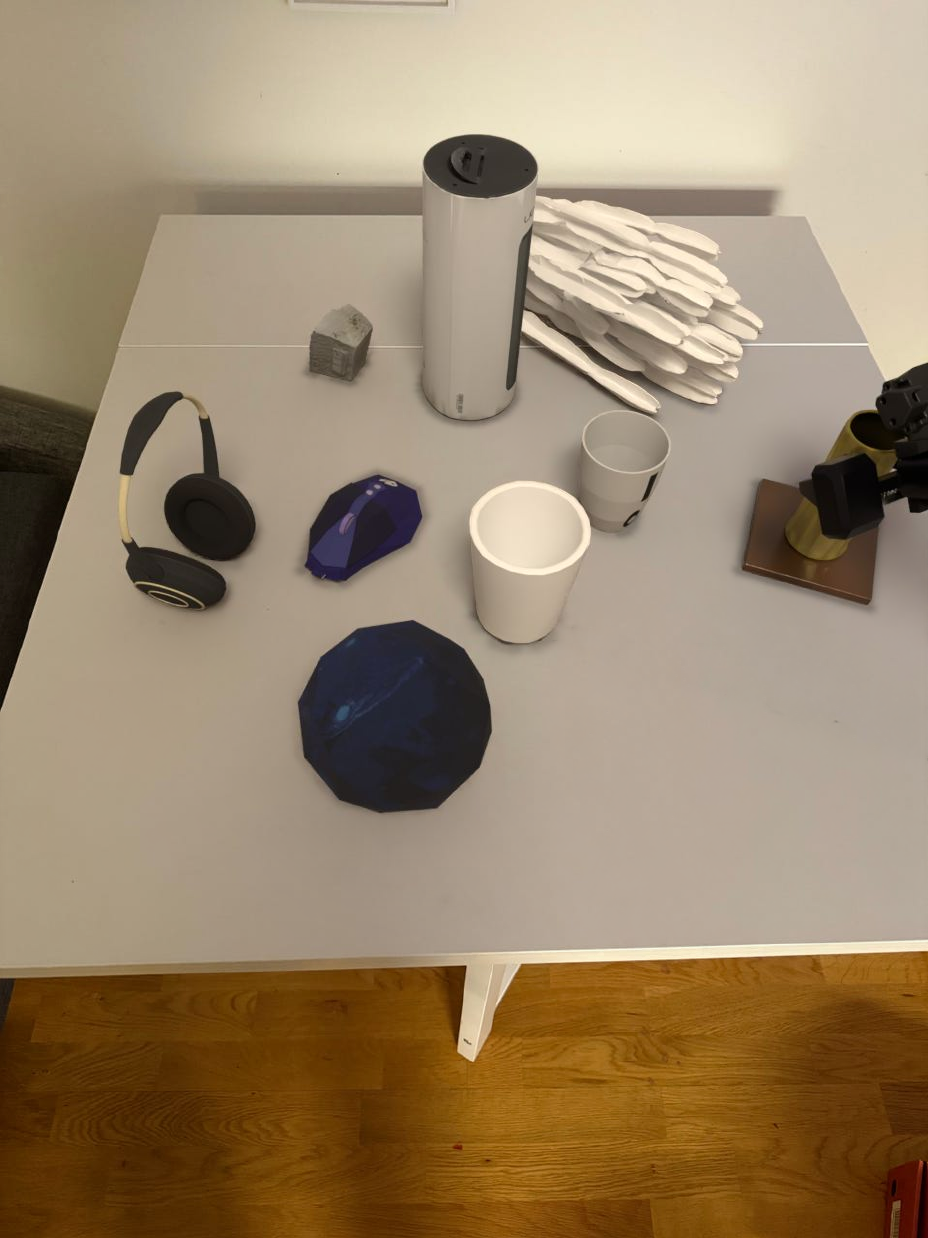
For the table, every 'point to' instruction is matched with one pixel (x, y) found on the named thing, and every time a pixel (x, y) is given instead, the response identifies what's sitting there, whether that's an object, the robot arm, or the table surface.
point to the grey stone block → (340, 343)
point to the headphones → (185, 517)
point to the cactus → (633, 300)
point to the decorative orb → (395, 718)
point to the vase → (855, 437)
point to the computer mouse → (361, 526)
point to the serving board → (786, 564)
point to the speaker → (475, 270)
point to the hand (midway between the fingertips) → (840, 472)
